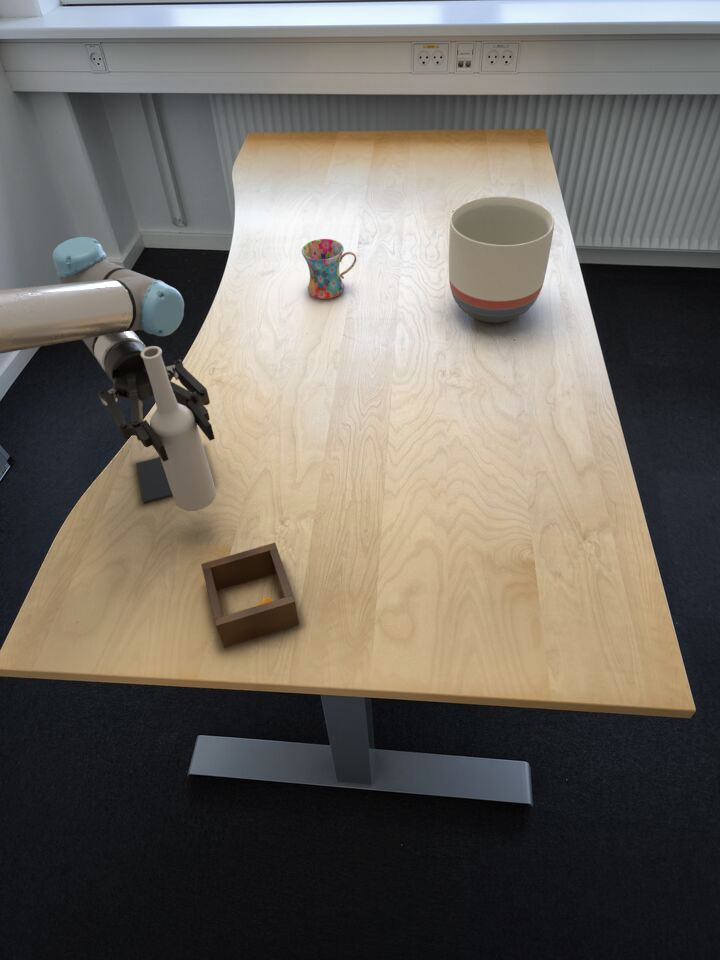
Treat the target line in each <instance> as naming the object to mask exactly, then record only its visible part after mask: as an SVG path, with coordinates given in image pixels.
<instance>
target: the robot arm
mask: <svg viewBox="0 0 720 960" xmlns="http://www.w3.org/2000/svg"><path fill="white" fill-rule="evenodd" d="M52 260H53V263H54V267H55V270H56V273H57V274H56V277H57V278H58V280H59V281H60V283H59V284H49V285H40V286H39V285H37V286H28V287H18V288H7V289H0V354H1V355H2V354H5V353H11V352H12V353H13V352H18V351H23V350H29V349H35V348H41V347H45V346H46V347H47V346H53V345H57V344H58V345H59V344H63V343H70V342H74V341H82V342H83V343H84V344H85V345H86V347H87V348H88V349H89V351H90V352H91V354H92V355H93V357H94V358H95V359H96V361H97V363H98V364H99V365H100V367H101V369H102V370H103V371H104V373H105V374H106V376H107V377H108V379H109V380H110V381H111V383H112V388H111V389H109V390H106V389H100V390H98V391H97V395H98V397H99V400H100V402H101V404H102V407H104V408H105V409H106V410H107V411H109V413H110V415H111V417H112V419H113V421H114V423H115V425H116V428H117V429H118V431H119V433H120V435H121V438H122V439H123V440H128V439H131V437H132V436H134V437H136V438H137V441H139V442H141V444H142V445H143V447H145V448H149V447H151V446H152V447H153V449H154V450H155V451H156V453H157V455H158V456H159V457H161V459H162V460H163V462H165V461H167V460H169V459H168V456H167V453H166V450H165V447H164V445H163V444H162V442H161V441H160V439H159V438H158V436H157V435H156V434H155V432H154V431H153V429H152V428H151V426H150V423H149V422H148V420H147V419H145V420H144V413H143V407H144V406H143V405H144V404H143V401H145V400H148V399H149V398H151V397H154V393H153V389H152V386H151V383H150V379H149V376H148V373H147V370H146V367H145V363H144V360H143V358H142V357H141V352H142V350H144V349H145V348H147V346H146V345H145V344H144V342H143V341H142V340H141V338H139V336H138V335H137V333H136V332H135V331H144V332H145V333H147V334H148V335H154V336H157V337H167V336H169V335H172V334H173V333H174V332H175V331H177V329H178V328H179V327H180V325H181V324H182V322H183V318H184V314H185V312H184V311H185V301H184V298H183V296H182V294H181V293H180V292H179V290H178V289H176V288H175V287H173V286H171V285H168V284H167V283H165V282H164V281H162V280H160V279H155V278H153V277H149V276H147V275H145V274H141V273H139V272H137V271H134V270H131V269H128V268H126V267H124V266H121V265H118V264H117V263H113V262H111V261H109V260H108V259H107V254H106V252H105V251H104V249H103V246H102V244H101V242H99V241H98V240H97V239H95V238H93V237H90V236H89V237H88V236H79V237H73V238H70V239H67V240H65V241H63V242H61V243H60V244H58V245H57V246H56V247H55V248H54V250H53V252H52ZM173 363H174V364H172V365H167V366H166V365H165V364H164V366H165V369H166V372H167V375H168V376H171V377H173V378H174V379H175V380H176V381H179V382H180V384H181V385H182V386H181V385H179V384H177V383H175V382H173V381H171V380H169V382H170V385H171V387H172V390H173V393H174V395H175V398H176V400H177V403H179V404H181V405H184V406H186V407H187V408H188V409H190V410H191V411H192V412H193V414H194V417H195V420H196V423H197V427H198V428H199V429H200V430H201V431H202V433H203V434H204V435H205V437H206V438H207V439H208V440H209V441H210V442H211V441H213V440H214V439H215V434H214V431H213V427H212V424H211V422H210V420H211V418H210V414H209V410H208V409H207V408H206V406H208V405H210V403H211V400H210V396H209V392H208V388H207V387H206V386H205V385H204V384H202V382H200V381H199V380H198V379H197V378H196V377H195V376H194V375H193V374H192V373H191V372H189V370H188V369H187V368H185V366H184V362H183V360H182V359H181V358H178V359H175V360H174V361H173ZM118 397H121V398H125V399H128V400H129V407H130V420H131V421H130V422H126V419H125V416H124V414H123V413H122V411H121V409H120V407H119V405H118V403H117V402H118Z"/></svg>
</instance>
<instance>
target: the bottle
mask: <svg viewBox="0 0 720 960" xmlns="http://www.w3.org/2000/svg"><path fill="white" fill-rule="evenodd" d="M162 354H163V350H162V348H161V347H159V346H156V345H150V346H146V348H145V349H144V350H142V352H141V357H142V358H143V360H144V363H145V367H146V370H147V373H148V376H149V379H150V383H151V386H152V389H153V393H154V396H153V398H154V401H155V406H156V409H155V411H154V412H153V413H152V416H151V417H150V421H149V425H150V426H151V428H152V429H153V431H154V432H155V434H156V435H157V436H158V438H159V439H160V441H161V442H162V444H163V445H164V447H165V450H166V453H167V456H168V459H169V460H167V461H165V462H163V460H162V459H161V457H160V456H159V457H160V459H161V462H162V465H163V468H164V471H165V474H166V477H167V480H168V483H169V486H170V489H171V491H172V494H173V496H172V497H173V500H174V503H175V505H176V506H177V507H178V508H179V509H181V510H183V511H187V512H197V511H200V510H203V509H205V508H207V507H209V506H210V505H211V504H213V502H214V500H215V499H216V496H217V489H216V486H215V482H214V478H213V474H212V472H211V467H210V463H209V461H208V458H207V453H206V451H205V447H204V443H203V441H202V438H201V434H200V431H199V426H198V425H197V423H196V420H195V417H194V414H193V412H192V411H191V410H190V409H188V408H187V407H186V406H184V405H181V404H179V403H177V400H176V398H175V395H174V393H173V390H172V387H171V385H170V382H169V381H170V379H169V375H167V372H166V369H165V367H166V365H165V362H164V359H163V355H162ZM164 365H165V366H164Z"/></svg>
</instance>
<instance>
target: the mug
mask: <svg viewBox="0 0 720 960" xmlns="http://www.w3.org/2000/svg"><path fill="white" fill-rule="evenodd" d="M344 250H345V249H344V246H343V244H342V243H341V242H339V241H338V240H335V239H332V238H319V239H314V240H311V241H308V242H307V243H305V244H304V245H303V246H302V248H301V255H302V256H303V258H304V260H305V262H306V264H307V267H308V270H309V282H308V285H307V292H308V294H309V295H311V296H312V297H314V298H317V299H323V300H325V299H327V300H328V299H333V298H336V297H338V296H339V295H341V294H342V293H343V292H344V290H345V283H344V282H343V281H342V280H344V279H345V276H344V275H345V274H347V273H349V272H350V271H351V270H352V269H353V268H354V266H355V265H356V262H357V255H356V253H355V252H352V251H346V252H344ZM348 255H351V256H353V257H354V260H353V262H352V264H351V265H350V266H349V267H348V268H347V269H346V270H344V271H342V272H341V273H340V263H342V260H343V258H345V256H348Z"/></svg>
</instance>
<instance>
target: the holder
mask: <svg viewBox="0 0 720 960" xmlns="http://www.w3.org/2000/svg"><path fill="white" fill-rule="evenodd" d="M200 565H201V570H202V574H203V578H204V582H205V586H206V591H207V595H208V599H209V603H210V607H211V611H212V615H213V620H214V624H215V628H216V631H217V633H218V636H219V639H220V642H221V644H222V647H223V649H225V648H229V647H232V646H235V645H238V644H241V643H245V642H247V641H250V640H251V641H252V640H254V639H258V638H260V637H263V636H267V635H270V634H273V633H276V632H279V631H283V630H286V629H289V628H292V627H296V626H298V625H300V620H299V614H298V608H297V604H296V601H295V600H296V599H295V597H294V594H293V591H292V587H291V585H290V582H289V580H288V576H287V573H286V570H285V566H284V565H283V562H282V558H281V555H280V553H279V550H278V546H277V543H276V542H271V543H269V544H264V545H262V546H258V547H254V548H251V549H248V550H244V551H241V552H238V553H234V554H231V555H227V556H224V557H220V558H217V559H214V560H209V561H207V562H203V563H201V564H200ZM272 575H274V576H275V579H276V582H277V586H278V590H279V592H280V596H281V598H278V599H275V600H272V601H269V602H265V603H263V604H259V605H256V606H253V607H250V608H246V609H243V610H239V611H236V612H233V613H230V614H226V615H225V613H224V609H223V606H222V601H221V597H220V593H219V591H222V590H226V589H229V588H231V587H232V588H233V587H236V586H239V585H242V584H245V583H249V582H253V581H255V580H259V579H263V578H265V577H270V576H272Z"/></svg>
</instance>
